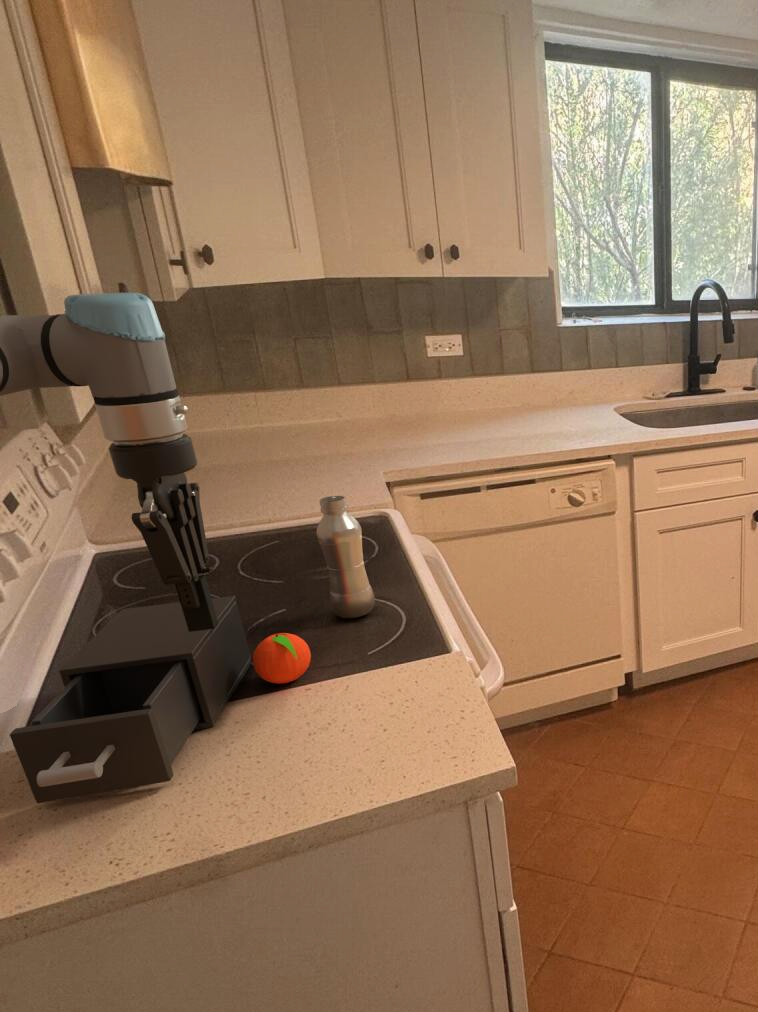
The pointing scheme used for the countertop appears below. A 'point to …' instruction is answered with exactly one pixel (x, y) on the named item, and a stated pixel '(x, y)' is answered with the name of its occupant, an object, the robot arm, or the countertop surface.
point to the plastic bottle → (344, 559)
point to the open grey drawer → (109, 731)
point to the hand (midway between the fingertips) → (203, 627)
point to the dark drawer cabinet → (173, 650)
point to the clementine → (281, 658)
